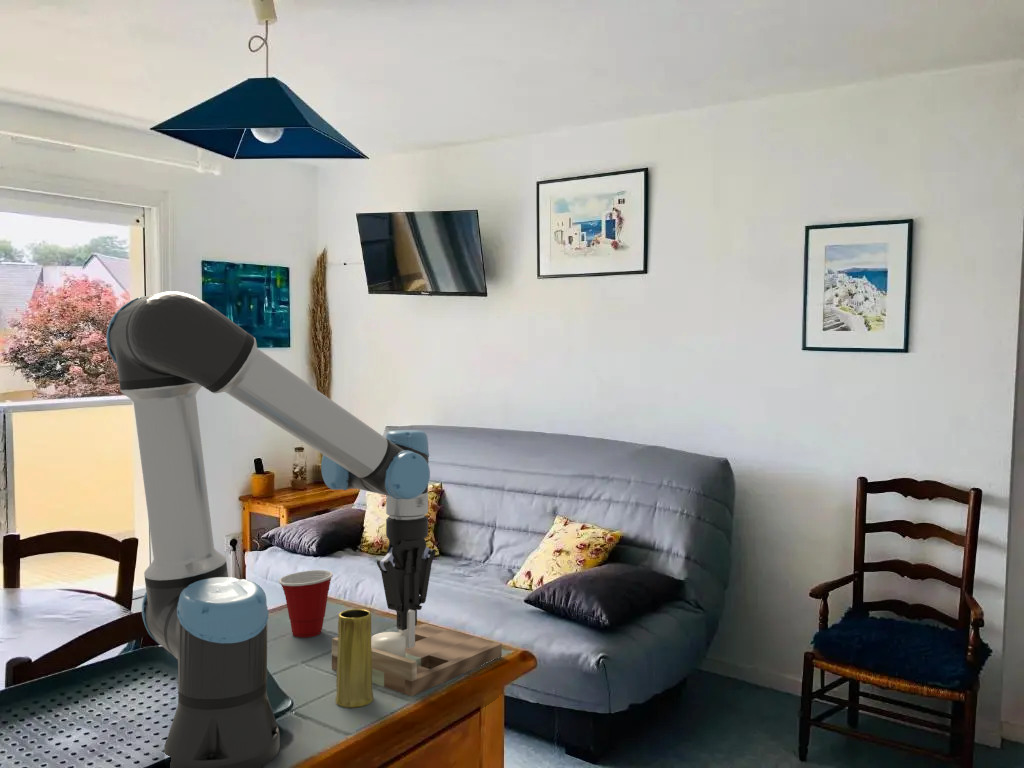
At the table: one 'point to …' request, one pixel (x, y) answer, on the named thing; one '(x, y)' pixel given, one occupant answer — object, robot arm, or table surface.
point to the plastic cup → (306, 600)
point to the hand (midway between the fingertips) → (406, 645)
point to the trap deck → (428, 659)
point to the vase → (354, 659)
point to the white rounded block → (390, 643)
